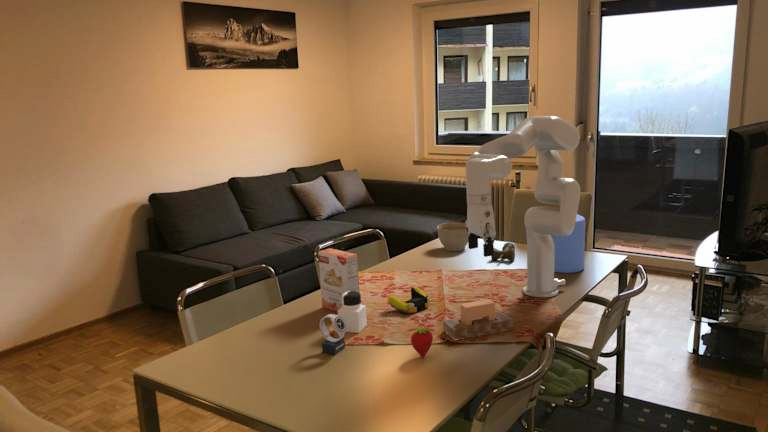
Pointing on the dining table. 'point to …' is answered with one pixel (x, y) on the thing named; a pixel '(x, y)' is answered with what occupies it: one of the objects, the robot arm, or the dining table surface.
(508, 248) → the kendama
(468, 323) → the peach block
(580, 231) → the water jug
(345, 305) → the medicine bottle
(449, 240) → the planter bowl
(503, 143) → the robot arm
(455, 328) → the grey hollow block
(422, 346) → the strawberry
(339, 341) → the watch
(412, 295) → the gaming controller
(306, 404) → the dining table surface
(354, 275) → the cracker box
